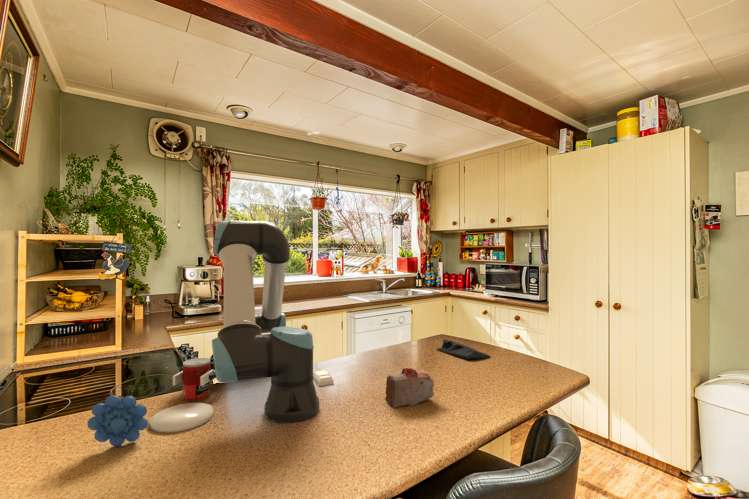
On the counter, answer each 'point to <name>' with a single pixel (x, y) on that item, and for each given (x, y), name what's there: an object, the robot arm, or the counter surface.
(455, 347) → the dark slate chunk
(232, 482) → the counter surface
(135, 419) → the grapes
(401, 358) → the counter surface
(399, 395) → the food item
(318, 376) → the soap bar
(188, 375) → the canned food
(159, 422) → the plate
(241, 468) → the counter surface
